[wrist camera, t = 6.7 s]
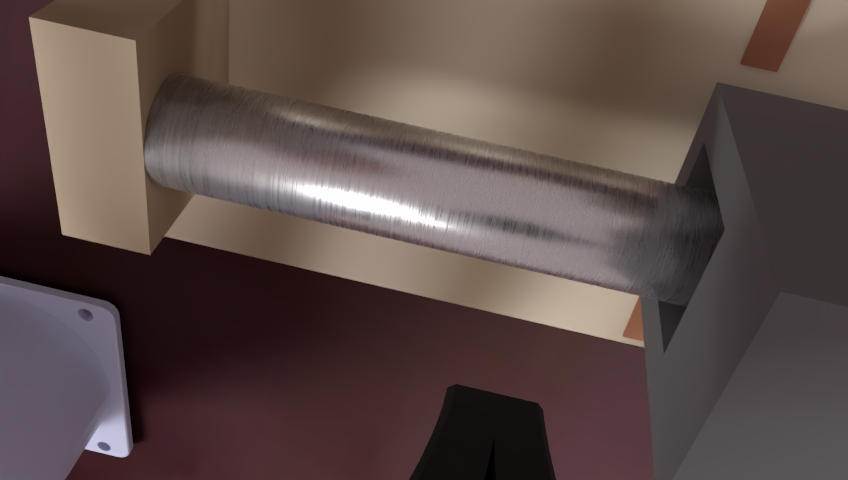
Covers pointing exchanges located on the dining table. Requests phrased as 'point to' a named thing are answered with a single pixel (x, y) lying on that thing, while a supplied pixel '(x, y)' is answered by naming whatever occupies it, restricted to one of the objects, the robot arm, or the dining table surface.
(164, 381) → the dining table surface
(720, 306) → the collar
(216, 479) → the dining table surface
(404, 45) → the pipe stand
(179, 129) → the pipe
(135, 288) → the dining table surface
